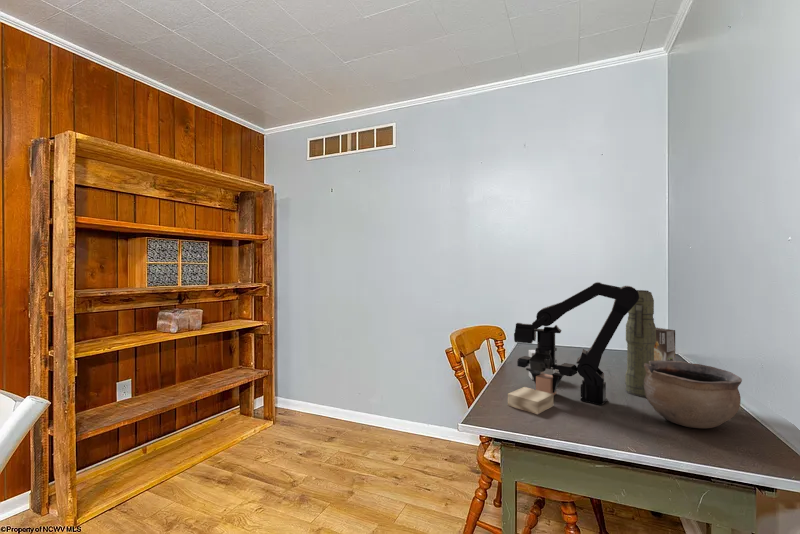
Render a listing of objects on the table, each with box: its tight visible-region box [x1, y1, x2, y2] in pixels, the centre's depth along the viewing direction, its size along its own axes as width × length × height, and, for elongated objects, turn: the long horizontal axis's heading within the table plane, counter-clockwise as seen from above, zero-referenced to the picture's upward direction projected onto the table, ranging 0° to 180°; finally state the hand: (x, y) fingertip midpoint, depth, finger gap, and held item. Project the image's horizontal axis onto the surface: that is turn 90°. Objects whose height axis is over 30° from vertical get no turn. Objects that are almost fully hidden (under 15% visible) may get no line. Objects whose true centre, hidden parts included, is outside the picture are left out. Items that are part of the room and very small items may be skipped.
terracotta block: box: [535, 373, 557, 397], centre depth 133 cm, size 5×5×6 cm
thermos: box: [624, 289, 657, 398], centre depth 134 cm, size 9×12×35 cm
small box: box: [528, 349, 554, 381], centre depth 151 cm, size 8×6×10 cm
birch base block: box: [507, 386, 554, 415], centre depth 122 cm, size 10×10×4 cm
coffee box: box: [654, 327, 676, 361], centre depth 168 cm, size 9×6×16 cm
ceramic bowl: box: [644, 360, 743, 429], centre depth 109 cm, size 22×22×15 cm
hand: (546, 390), depth 133 cm, fingers closed on terracotta block, 5 cm apart
